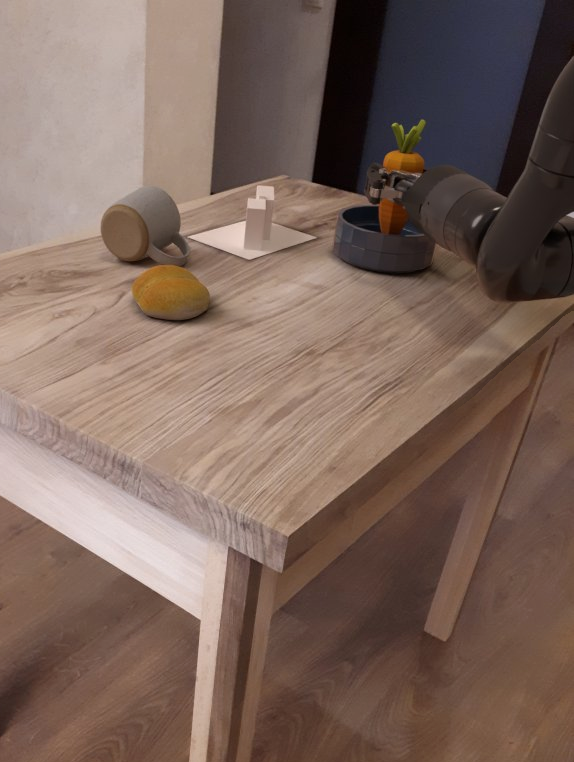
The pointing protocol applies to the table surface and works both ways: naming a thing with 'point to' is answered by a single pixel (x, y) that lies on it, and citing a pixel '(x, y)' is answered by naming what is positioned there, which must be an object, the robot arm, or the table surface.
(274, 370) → the table surface
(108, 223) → the ceramic mug
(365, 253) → the bowl
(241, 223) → the napkin holder
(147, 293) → the bread roll
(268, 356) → the table surface
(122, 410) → the table surface
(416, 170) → the carrot
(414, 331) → the table surface
